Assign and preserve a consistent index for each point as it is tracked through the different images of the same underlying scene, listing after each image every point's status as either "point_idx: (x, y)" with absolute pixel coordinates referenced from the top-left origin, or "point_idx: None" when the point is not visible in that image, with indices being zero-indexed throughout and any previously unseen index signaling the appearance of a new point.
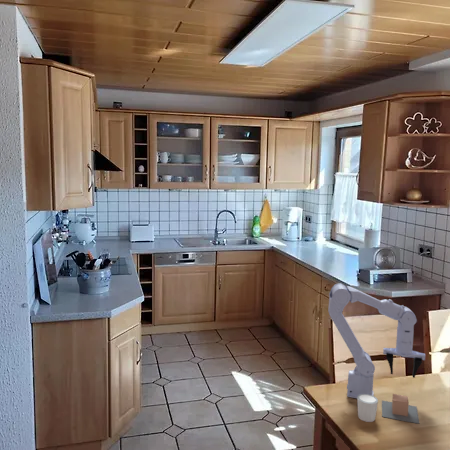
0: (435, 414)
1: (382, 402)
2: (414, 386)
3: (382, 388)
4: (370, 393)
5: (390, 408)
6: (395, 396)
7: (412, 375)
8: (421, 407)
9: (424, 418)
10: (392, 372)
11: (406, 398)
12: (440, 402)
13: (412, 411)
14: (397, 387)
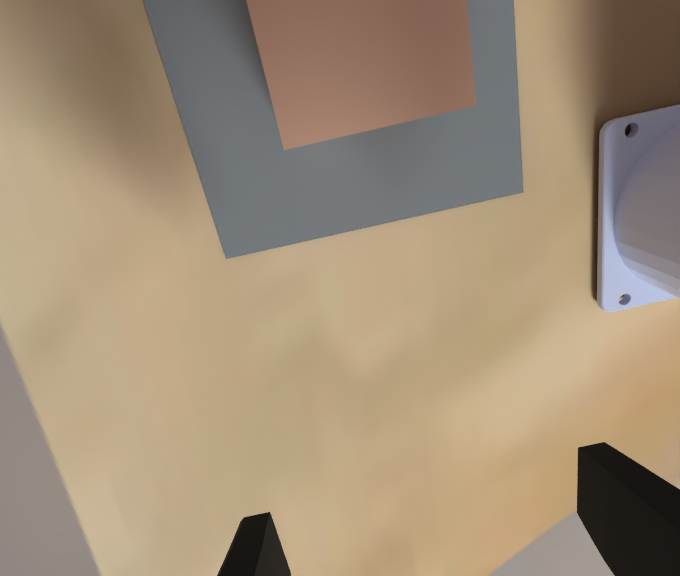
0: (47, 215)
1: (515, 151)
2: (312, 559)
3: (524, 411)
4: (666, 169)
5: None
6: (434, 32)
7: (288, 567)
8: (189, 275)
9: (103, 63)
10: (608, 464)
11: (283, 61)
12: (87, 443)
13: (234, 131)
14: (419, 485)
